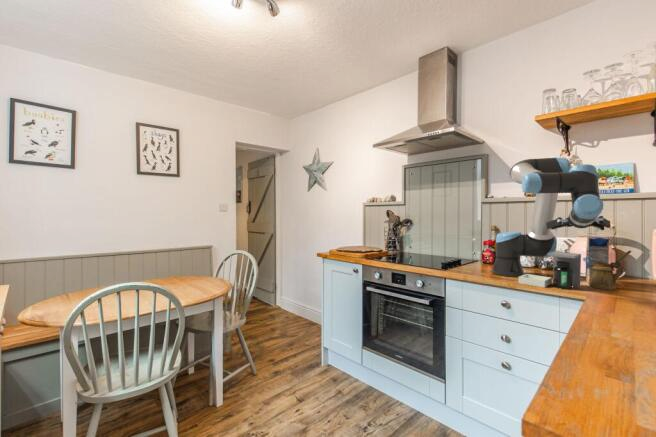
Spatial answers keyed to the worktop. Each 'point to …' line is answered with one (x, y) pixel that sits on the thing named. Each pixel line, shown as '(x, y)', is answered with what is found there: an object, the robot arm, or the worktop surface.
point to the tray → (535, 280)
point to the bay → (574, 264)
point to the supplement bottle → (562, 275)
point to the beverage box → (596, 254)
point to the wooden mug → (606, 274)
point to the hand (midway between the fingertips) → (574, 229)
